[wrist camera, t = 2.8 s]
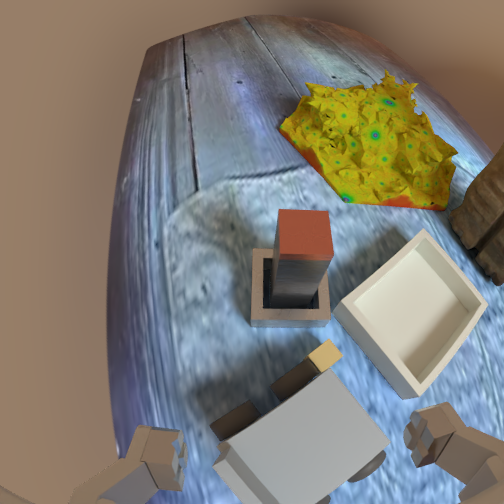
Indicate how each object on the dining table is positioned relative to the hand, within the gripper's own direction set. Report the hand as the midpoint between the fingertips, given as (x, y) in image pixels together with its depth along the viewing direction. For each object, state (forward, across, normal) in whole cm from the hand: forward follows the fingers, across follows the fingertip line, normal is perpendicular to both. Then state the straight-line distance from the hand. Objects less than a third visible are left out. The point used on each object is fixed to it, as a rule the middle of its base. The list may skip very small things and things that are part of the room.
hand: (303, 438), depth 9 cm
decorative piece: (+38, -18, -13) cm, 44 cm away
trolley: (+10, -2, +14) cm, 17 cm away
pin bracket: (+21, -2, +4) cm, 21 cm away
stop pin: (+21, -2, +4) cm, 21 cm away
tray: (+19, -15, +6) cm, 25 cm away
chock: (+16, -5, +8) cm, 19 cm away
